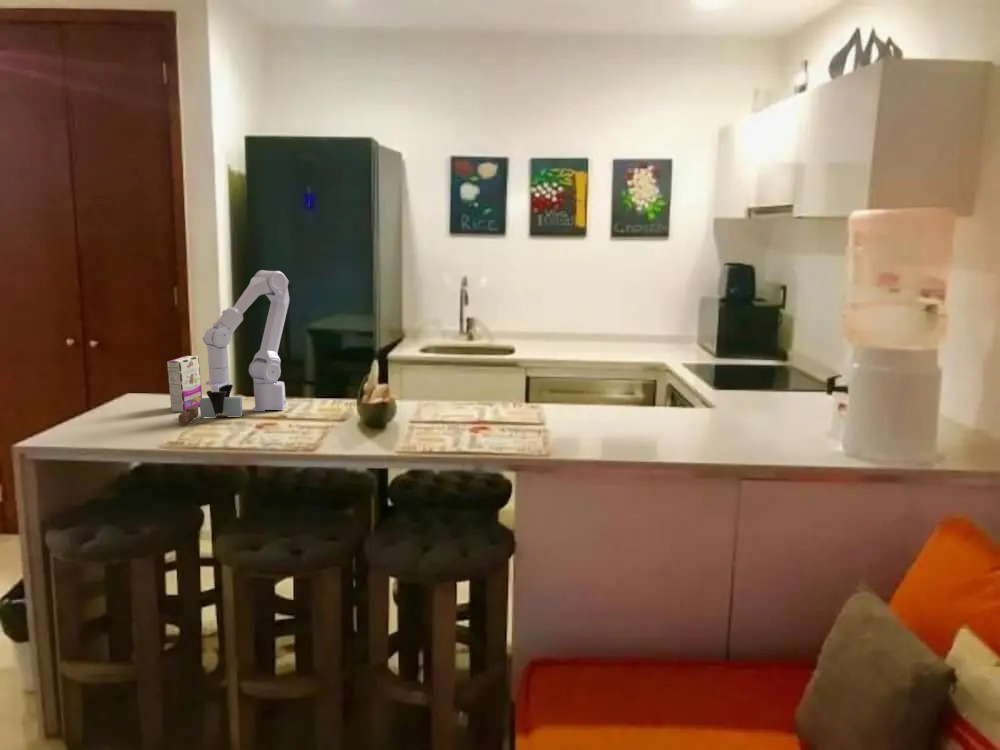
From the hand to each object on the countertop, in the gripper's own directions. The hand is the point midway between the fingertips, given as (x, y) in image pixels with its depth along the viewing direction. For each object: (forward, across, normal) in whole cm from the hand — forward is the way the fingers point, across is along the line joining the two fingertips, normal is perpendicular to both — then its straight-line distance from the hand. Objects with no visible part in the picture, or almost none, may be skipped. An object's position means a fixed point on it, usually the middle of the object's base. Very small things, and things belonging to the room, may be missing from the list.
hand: (221, 411), depth 264 cm
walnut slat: (+2, +3, -9) cm, 10 cm away
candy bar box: (+2, -15, -14) cm, 21 cm away
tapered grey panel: (+2, 0, 0) cm, 2 cm away
